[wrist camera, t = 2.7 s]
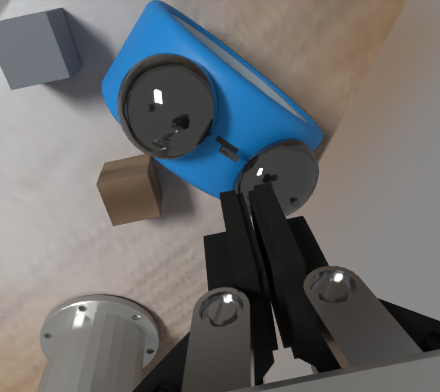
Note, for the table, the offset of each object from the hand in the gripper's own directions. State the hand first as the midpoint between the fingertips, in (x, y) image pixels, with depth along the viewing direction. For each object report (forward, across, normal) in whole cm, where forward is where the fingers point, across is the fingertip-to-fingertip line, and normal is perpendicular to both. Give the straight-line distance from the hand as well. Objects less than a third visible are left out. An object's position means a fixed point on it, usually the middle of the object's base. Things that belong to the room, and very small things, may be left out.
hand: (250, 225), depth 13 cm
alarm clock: (+21, 0, 0) cm, 21 cm away
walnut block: (+21, +8, +7) cm, 23 cm away
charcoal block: (+21, +11, -5) cm, 24 cm away
